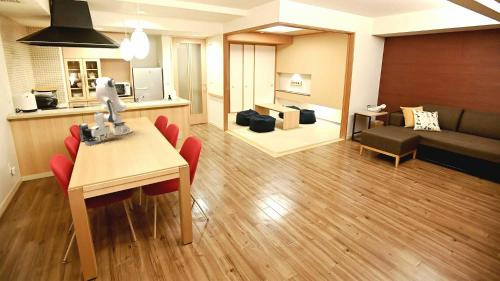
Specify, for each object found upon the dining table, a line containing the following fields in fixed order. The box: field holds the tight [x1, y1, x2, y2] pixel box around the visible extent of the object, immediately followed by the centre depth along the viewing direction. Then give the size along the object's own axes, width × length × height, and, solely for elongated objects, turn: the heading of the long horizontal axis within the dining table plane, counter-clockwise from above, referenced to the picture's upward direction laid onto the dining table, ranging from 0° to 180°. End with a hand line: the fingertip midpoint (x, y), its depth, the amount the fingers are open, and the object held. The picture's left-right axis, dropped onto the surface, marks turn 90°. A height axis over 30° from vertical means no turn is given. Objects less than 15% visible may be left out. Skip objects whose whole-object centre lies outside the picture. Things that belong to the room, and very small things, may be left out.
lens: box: [99, 134, 106, 143], centre depth 298 cm, size 5×5×8 cm
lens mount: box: [84, 138, 99, 147], centre depth 289 cm, size 9×9×4 cm
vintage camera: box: [78, 122, 97, 142], centre depth 298 cm, size 10×16×20 cm, turn 78°
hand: (102, 138), depth 298 cm, fingers open, 8 cm apart
